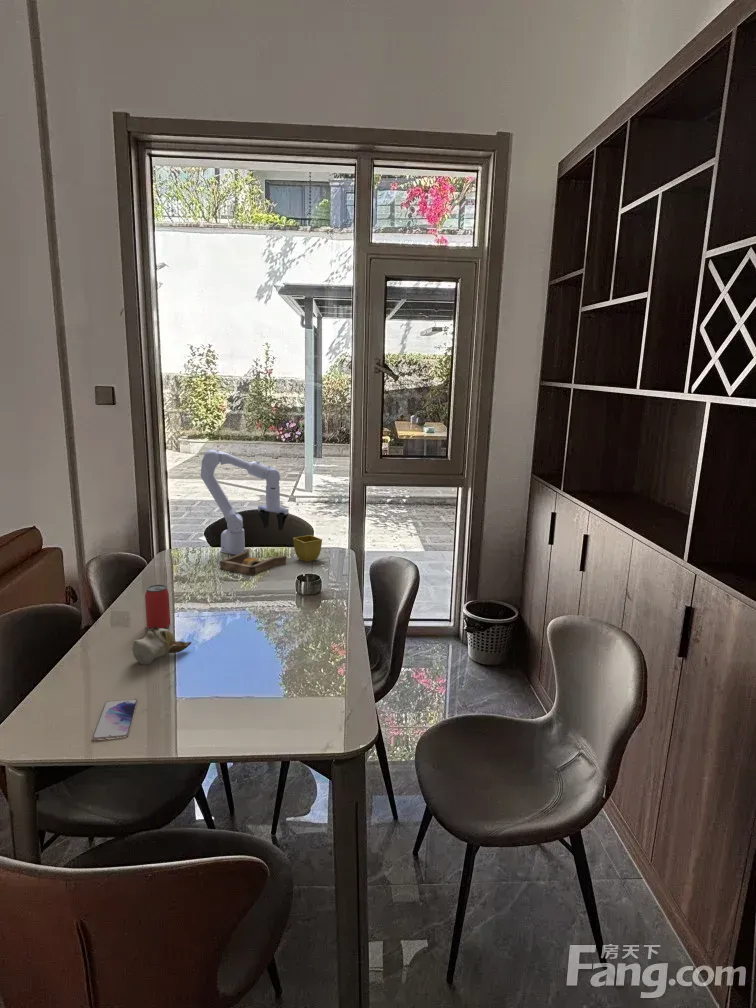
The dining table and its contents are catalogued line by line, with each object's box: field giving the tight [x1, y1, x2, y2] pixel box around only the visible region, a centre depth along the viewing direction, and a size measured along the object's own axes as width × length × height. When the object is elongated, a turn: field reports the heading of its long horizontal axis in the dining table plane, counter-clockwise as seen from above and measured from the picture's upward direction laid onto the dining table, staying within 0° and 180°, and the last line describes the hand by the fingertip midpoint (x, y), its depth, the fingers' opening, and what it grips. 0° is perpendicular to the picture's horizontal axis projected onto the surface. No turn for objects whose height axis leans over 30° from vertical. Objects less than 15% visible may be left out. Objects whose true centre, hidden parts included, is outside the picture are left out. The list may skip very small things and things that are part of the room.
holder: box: [219, 548, 287, 576], centre depth 237 cm, size 20×18×3 cm
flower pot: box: [292, 534, 323, 563], centre depth 245 cm, size 9×9×9 cm
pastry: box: [242, 557, 262, 566], centre depth 236 cm, size 9×7×4 cm
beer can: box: [144, 584, 171, 630], centre depth 178 cm, size 7×7×12 cm
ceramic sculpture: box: [132, 627, 192, 665], centre depth 160 cm, size 11×9×15 cm
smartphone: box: [91, 698, 139, 740], centre depth 131 cm, size 7×1×15 cm
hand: (273, 528), depth 256 cm, fingers open, 7 cm apart
